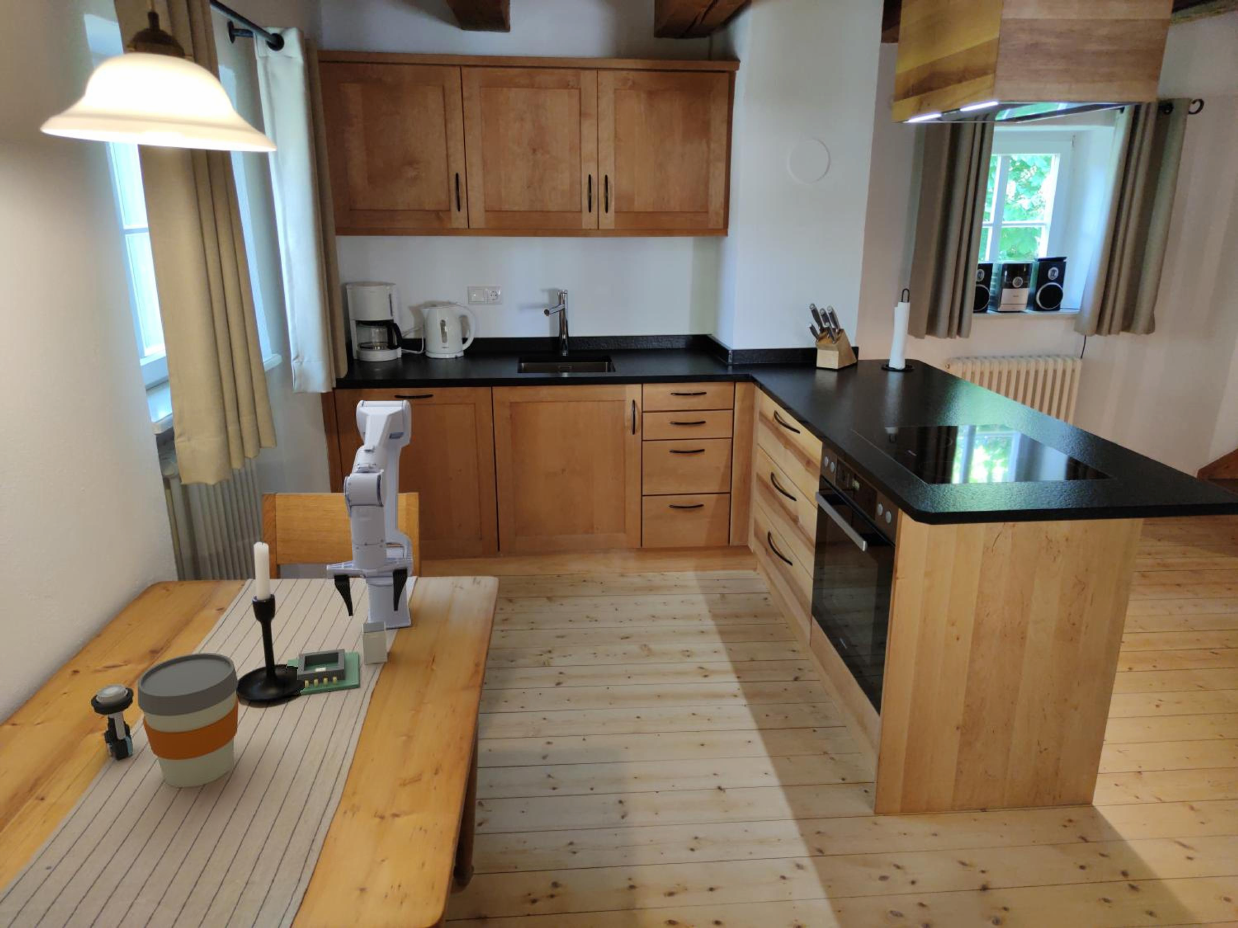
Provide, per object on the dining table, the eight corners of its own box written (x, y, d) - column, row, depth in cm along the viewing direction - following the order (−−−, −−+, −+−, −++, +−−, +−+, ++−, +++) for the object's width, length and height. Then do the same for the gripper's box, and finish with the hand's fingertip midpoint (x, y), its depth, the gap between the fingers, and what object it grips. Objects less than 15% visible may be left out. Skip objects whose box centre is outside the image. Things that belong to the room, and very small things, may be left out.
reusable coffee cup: (197, 804, 112) (184, 705, 108) (128, 782, 116) (113, 686, 113) (266, 753, 124) (256, 661, 120) (200, 735, 128) (188, 645, 124)
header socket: (288, 662, 150) (286, 648, 149) (358, 654, 153) (357, 640, 152) (283, 697, 139) (281, 681, 138) (358, 687, 142) (357, 672, 141)
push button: (91, 747, 124) (81, 687, 122) (130, 732, 128) (121, 674, 125) (107, 766, 120) (97, 704, 117) (147, 750, 124) (138, 690, 121)
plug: (364, 654, 153) (361, 623, 152) (386, 651, 155) (384, 620, 153) (364, 665, 149) (362, 633, 148) (387, 662, 151) (385, 630, 149)
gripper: (324, 551, 140) (330, 625, 144) (413, 543, 144) (416, 615, 148) (325, 537, 146) (331, 608, 150) (410, 530, 151) (414, 599, 154)
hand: (373, 611), depth 149 cm, fingers open, 7 cm apart
